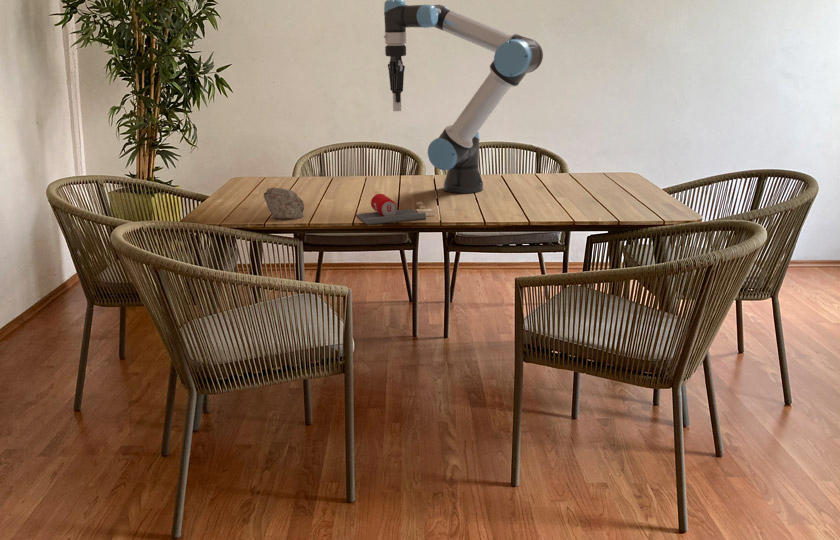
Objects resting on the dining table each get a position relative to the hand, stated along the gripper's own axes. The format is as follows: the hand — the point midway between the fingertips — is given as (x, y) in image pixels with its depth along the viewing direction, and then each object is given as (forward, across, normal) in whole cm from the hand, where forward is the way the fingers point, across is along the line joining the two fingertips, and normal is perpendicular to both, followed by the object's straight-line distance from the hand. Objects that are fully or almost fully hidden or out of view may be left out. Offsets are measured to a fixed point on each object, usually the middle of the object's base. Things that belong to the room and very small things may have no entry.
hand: (397, 110), depth 295 cm
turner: (+30, +33, -2) cm, 45 cm away
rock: (+31, +23, -48) cm, 61 cm away
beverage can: (+27, +28, -16) cm, 42 cm away
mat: (+30, +37, -15) cm, 50 cm away
